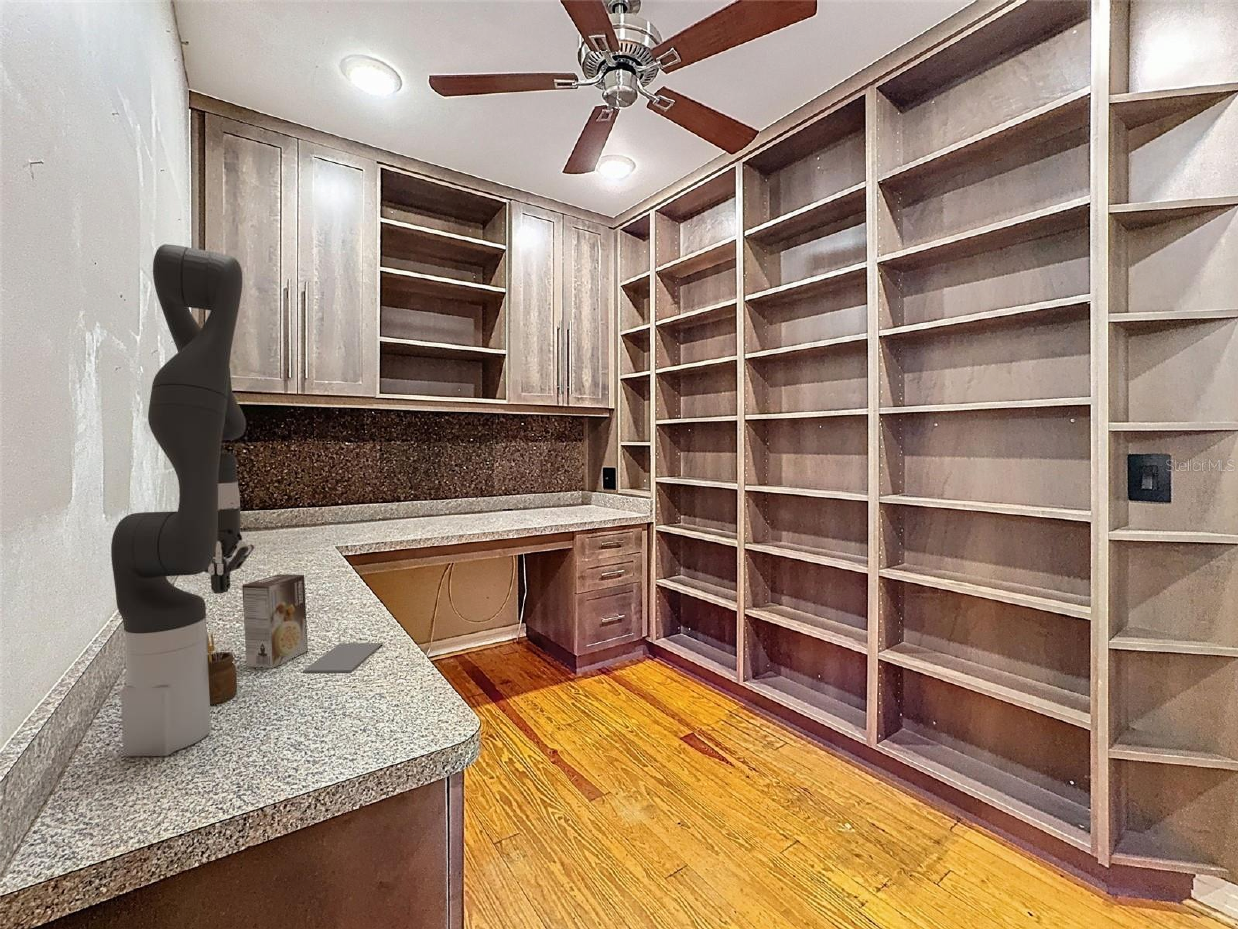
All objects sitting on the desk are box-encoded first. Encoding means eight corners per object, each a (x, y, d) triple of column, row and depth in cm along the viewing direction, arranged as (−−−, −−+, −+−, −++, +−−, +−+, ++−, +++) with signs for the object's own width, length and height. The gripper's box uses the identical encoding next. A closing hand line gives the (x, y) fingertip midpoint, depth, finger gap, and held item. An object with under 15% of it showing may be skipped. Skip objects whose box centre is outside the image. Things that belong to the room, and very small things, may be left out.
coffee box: (282, 649, 116) (279, 573, 116) (308, 651, 115) (306, 574, 114) (244, 667, 107) (241, 584, 107) (272, 669, 106) (269, 585, 105)
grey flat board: (351, 672, 104) (350, 670, 104) (302, 673, 104) (302, 670, 104) (382, 645, 118) (382, 642, 118) (340, 645, 118) (340, 643, 118)
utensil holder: (241, 687, 98) (238, 620, 98) (231, 703, 92) (228, 632, 92) (201, 693, 96) (198, 625, 96) (188, 710, 90) (184, 637, 90)
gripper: (168, 508, 106) (172, 598, 107) (237, 508, 106) (241, 598, 107) (198, 503, 114) (202, 587, 115) (262, 503, 114) (266, 587, 115)
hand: (221, 592), depth 111 cm, fingers closed
